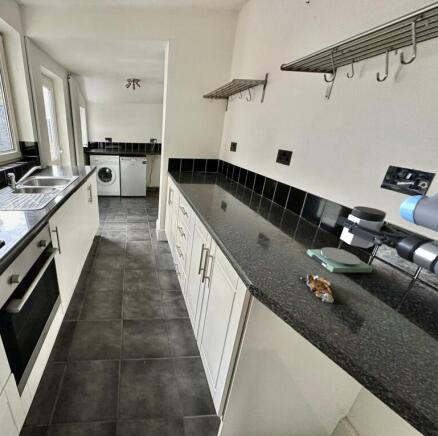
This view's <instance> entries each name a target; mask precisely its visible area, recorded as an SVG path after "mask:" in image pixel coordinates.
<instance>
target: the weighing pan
mask: <svg viewBox="0 0 438 436" xmlns="http://www.w3.org/2000/svg"><path fill="white" fill-rule="evenodd" d="M319 250H320V253H321V255H322V256H323V257H325V258H326V259H328V260H330V261H333V262H335V263H338V264H342V265H347V266H357V265H359V264H360V260H361V259H360V258H359V257H358V256H357V255H355V254H353V253H351V252H349V251H347V250H345V249H340V248H336V247H330V246H329V247H327V246H326V247H322V248H320V249H319Z"/></svg>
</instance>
